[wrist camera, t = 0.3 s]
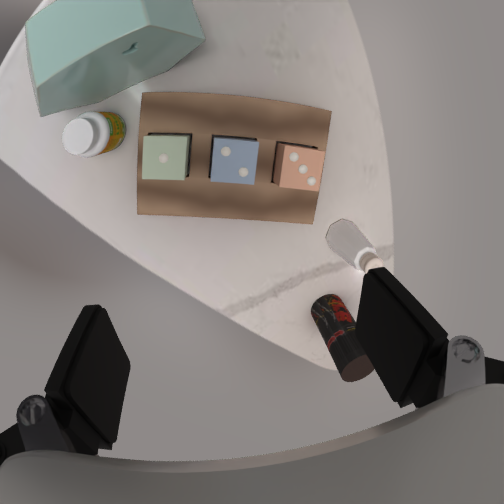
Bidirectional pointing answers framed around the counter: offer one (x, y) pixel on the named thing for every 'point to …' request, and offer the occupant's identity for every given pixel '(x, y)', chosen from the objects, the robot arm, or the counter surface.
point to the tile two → (234, 160)
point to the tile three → (298, 167)
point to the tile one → (165, 157)
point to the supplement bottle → (93, 133)
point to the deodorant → (341, 337)
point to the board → (202, 127)
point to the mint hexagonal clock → (104, 47)
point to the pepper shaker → (353, 246)
